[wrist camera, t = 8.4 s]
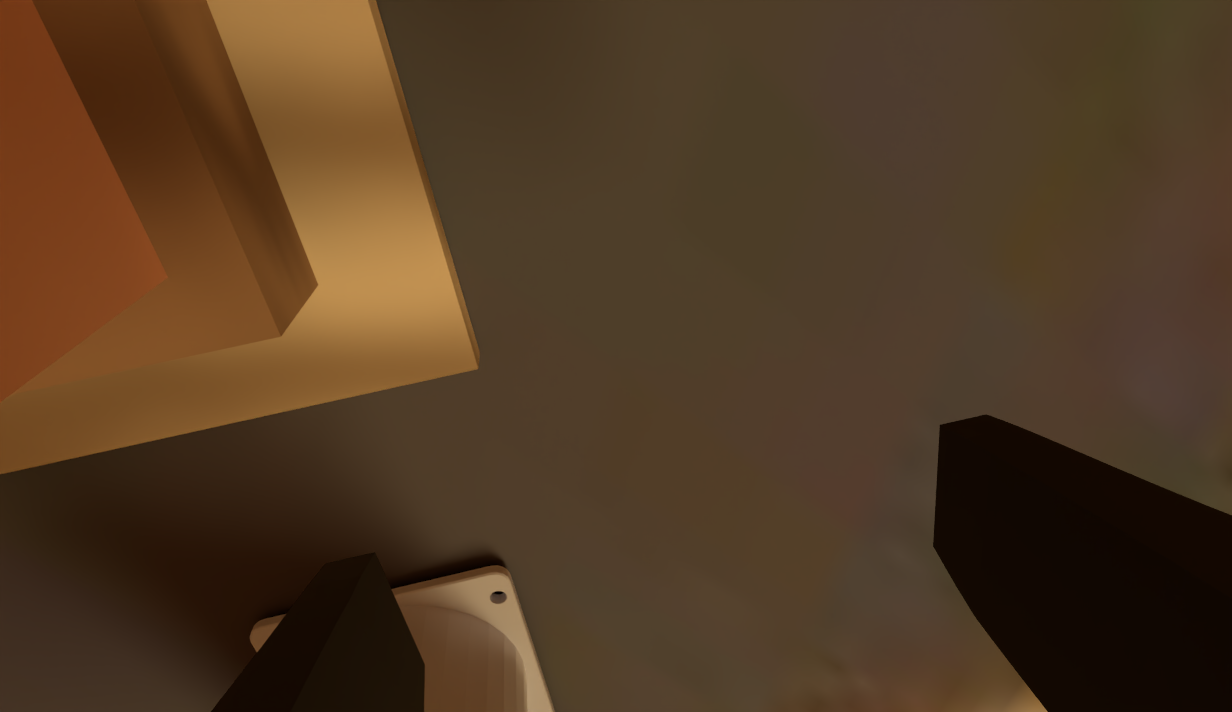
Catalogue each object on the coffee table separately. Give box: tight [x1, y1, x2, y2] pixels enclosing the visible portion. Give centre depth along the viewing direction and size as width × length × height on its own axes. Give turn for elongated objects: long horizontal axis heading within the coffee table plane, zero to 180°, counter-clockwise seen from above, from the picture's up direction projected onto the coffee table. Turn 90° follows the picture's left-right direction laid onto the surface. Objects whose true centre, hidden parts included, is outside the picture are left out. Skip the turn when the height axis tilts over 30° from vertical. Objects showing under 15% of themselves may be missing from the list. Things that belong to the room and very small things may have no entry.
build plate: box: [0, 0, 480, 474], centre depth 15 cm, size 14×14×1 cm
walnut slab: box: [11, 0, 318, 395], centre depth 13 cm, size 8×8×3 cm
